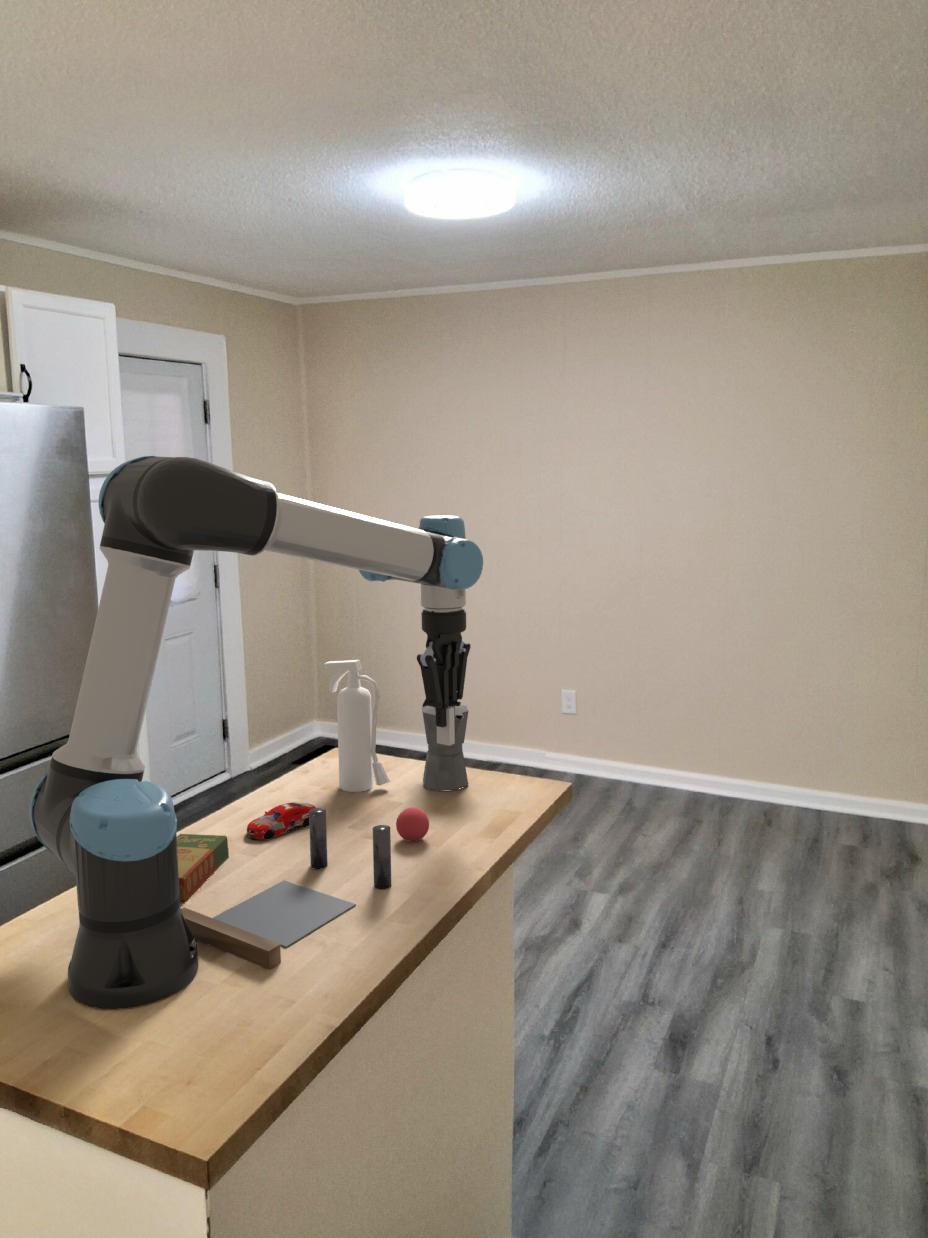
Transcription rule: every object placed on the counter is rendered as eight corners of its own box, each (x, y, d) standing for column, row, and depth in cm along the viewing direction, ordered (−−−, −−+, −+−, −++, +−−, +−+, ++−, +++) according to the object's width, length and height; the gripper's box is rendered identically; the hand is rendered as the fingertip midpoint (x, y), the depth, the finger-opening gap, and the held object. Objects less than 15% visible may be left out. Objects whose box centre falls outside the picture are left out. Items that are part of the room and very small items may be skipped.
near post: (384, 891, 138) (382, 833, 137) (370, 886, 140) (369, 829, 138) (395, 884, 140) (393, 827, 139) (381, 880, 142) (380, 823, 140)
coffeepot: (483, 789, 180) (483, 698, 177) (439, 798, 176) (438, 704, 173) (445, 767, 193) (445, 681, 190) (404, 774, 189) (402, 687, 186)
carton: (132, 902, 136) (130, 874, 136) (180, 856, 152) (179, 831, 151) (186, 905, 135) (184, 877, 134) (230, 859, 151) (228, 833, 150)
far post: (319, 870, 145) (318, 815, 144) (307, 867, 147) (305, 812, 145) (331, 864, 147) (329, 810, 146) (318, 861, 149) (316, 806, 147)
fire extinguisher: (381, 796, 176) (375, 664, 173) (324, 790, 181) (318, 662, 177) (396, 785, 183) (391, 658, 179) (341, 780, 187) (335, 655, 184)
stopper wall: (269, 969, 117) (268, 951, 117) (173, 930, 127) (172, 913, 127) (280, 962, 119) (280, 944, 118) (185, 924, 129) (184, 907, 128)
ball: (416, 849, 153) (415, 817, 152) (389, 842, 156) (389, 810, 155) (435, 838, 157) (435, 806, 156) (409, 831, 160) (409, 800, 159)
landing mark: (286, 948, 122) (286, 946, 122) (212, 919, 130) (212, 918, 130) (355, 905, 134) (355, 904, 134) (284, 881, 142) (284, 880, 141)
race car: (257, 846, 156) (256, 823, 155) (240, 836, 159) (239, 814, 159) (323, 824, 164) (322, 802, 164) (306, 815, 168) (305, 794, 168)
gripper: (439, 616, 151) (442, 757, 155) (483, 604, 161) (484, 737, 165) (402, 612, 155) (405, 749, 159) (447, 601, 165) (449, 730, 169)
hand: (445, 743), depth 162 cm, fingers closed
